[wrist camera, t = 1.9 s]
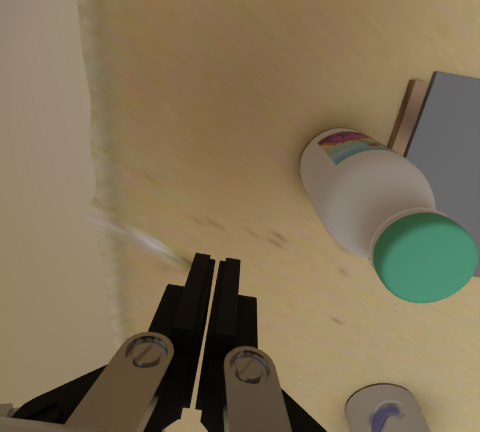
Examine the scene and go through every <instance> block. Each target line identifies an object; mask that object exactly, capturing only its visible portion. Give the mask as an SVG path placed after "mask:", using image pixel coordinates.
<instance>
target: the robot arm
mask: <svg viewBox="0 0 480 432" xmlns="http://www.w3.org/2000/svg"><path fill="white" fill-rule="evenodd" d="M214 266H215V260H214V259H210V255H207V254H200V253H196V254H195V257H194V260H193V263H192V266H191V269H190V272H189V275H188V278H187V281H186V284H185V287H184V286H178V285H171V284H168V285H167V287H166V289H165V292H164V294H163V297H162V299H161V301H160V304H159V306H158V309H157V311H156V313H155V316H154V318H153V320H152V323H151V325H150V328H149V330H148V332H142V333H139V334H135V335H133V336H132V337H130V338H128V339H127V340H126V341H125V342H124V343H123V344H122V345H121V347H120V348H119V349H118V351H117V352H116V354H115V355H114V357H113V358H112V359H111V361H110V362H109V363H108V364H107V365H105V366H103V367H101V368H99V369H96V370H94V371H92V372H90V373H88V374H86V375H83V376H81V377H79V378H77V379H75V380H73V381H70V382H68V383H66V384H64V385H62V386H60V387H57V388H56V389H53V390H51V391H49V392H47V393H44V394H42V395H40V396H38V397H36V398H34V399H32V400H30V401H29V402H27V403H25V404H24V405H23V406H21V407H20V408H13V405H12V403H9V404H0V432H165V430H166V427H167V426H169V425H170V424H172V423H173V422H175V421H176V420H178V419H181V414H182V409H183V408H190V404H191V398H192V393H193V388H194V383H195V378H196V372H197V367H198V362H199V357H200V351H201V346H202V341H203V336H204V331H205V325H206V319H207V313H208V306H209V299H210V293H211V286H212V279H213V273H214ZM239 275H240V260H238V259H232V258H226V261H220V263H219V269H218V274H217V280H216V285H215V291H214V296H213V302H212V307H211V313H210V318H209V324H208V330H207V336H206V342H205V349H204V355H203V362H202V368H201V375H200V381H199V388H198V394H197V401H196V407H195V409H197V410H202V415H201V421H200V422H201V423H202V424H203V425H204V427H205V428H206V429H207V431H208V432H327V431H326V430H325V429H324V428H323V427H322V426H321V425H320V424H318V423H317V422H316V421H315V420H314V419H313V418H312V417H311V416H310V415H309V414H308V413H307V412H306V411H305V410H304V409H303V408H302V407H300V406H299V405H298V404H297V403H296V402H295V401H294V400H293V399H292V398H291V397H290V396H289V395H288V394H287V393H286V392H285V391H284V390H282V389H281V387H280V383H279V379H278V375H277V372H276V368H275V365H274V363H273V361H272V359H271V358H270V357H269V356H268V355H267V354H266V353H265V352H263V351H262V350H259V349H258V337H257V299H256V297H249V296H243V295H238V291H239Z"/></svg>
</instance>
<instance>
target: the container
mask: <svg viewBox="0 0 480 432" xmlns="http://www.w3.org/2000/svg"><path fill="white" fill-rule="evenodd" d="M345 413H346V417H347V421H348V424H349V428H350V432H431V431H430V429H429V427H428V425H427V423H426V421H425V419H424V417H423V415H422V413H421V411H420V409H419V407H418V405H417V403H416V401H415V399H414V397H413V396H412V394H411V393H410V392H408V391H407V390H405V389H403V388H401V387H398V386H394V385H374V386H370V387H367V388H364V389H362V390H360V391H359V392H357V393H356V394H354V395H353V396H352V397H351V398H350V399H349V401H348V403H347V405H346V409H345Z"/></svg>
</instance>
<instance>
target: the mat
mask: <svg viewBox="0 0 480 432" xmlns="http://www.w3.org/2000/svg"><path fill="white" fill-rule="evenodd" d="M404 157H405V158H406V159H408V160H409V161H410V162H412V163H413V164H414V165H415V166H416V167H417V168H418V169H419V170H420V171H421V172H422V174H423V175H424V176H425V178H426V179H427V181H428V183H429V185H430V187H431V190H432V192H433V196H434V201H435V210H438V211H440V212H442V213H443V214H445V215H446V216H448V217H449V218H450V219H451V220H453V221H455V222H456V223H458V224H459V225H460V226H461V227H463V228H464V229H465V230H466V231H467V232H468V233H469V234H470V235H471V236H472V238H473V240H474V241H475V243H476V246H477V249H478V264H477V267H476V270H475V272H474V274H473V276H474V277H480V79H476V78H470V77H464V76H459V75H453V74H447V73H441V72H434V74H433V76H432V79H431V82H430V85H429V87H428V90H427V93H426V96H425V98H424V101H423V104H422V107H421V109H420V112H419V115H418V118H417V121H416V123H415V126H414V129H413V132H412V134H411V137H410V140H409V143H408V145H407V148H406V151H405V154H404ZM368 259H369V258H368ZM369 260H370V259H369Z"/></svg>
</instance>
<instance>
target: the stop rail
mask: <svg viewBox="0 0 480 432" xmlns="http://www.w3.org/2000/svg"><path fill="white" fill-rule="evenodd" d="M428 84H429V82H424V81H419V80H410V82H409V85H408V88H407V91H406V94H405V97H404V100H403V103H402V106H401V109H400V112H399V115H398V118H397V121H396V123H395V126H394V129H393V132H392V135H391V138H390V141H389V144H388V148H390V149H392V150H393V151H395V152H397V153H398V154H400V155H401V156H403V153H404V150H405V147H406V145H407V142H408V139H409V136H410V134H411V131H412V128H413V125H414V122H415V120H416V117H417V114H418V111H419V109H420V106H421V103H422V100H423V98H424V95H425V92H426V89H427V86H428Z"/></svg>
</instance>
